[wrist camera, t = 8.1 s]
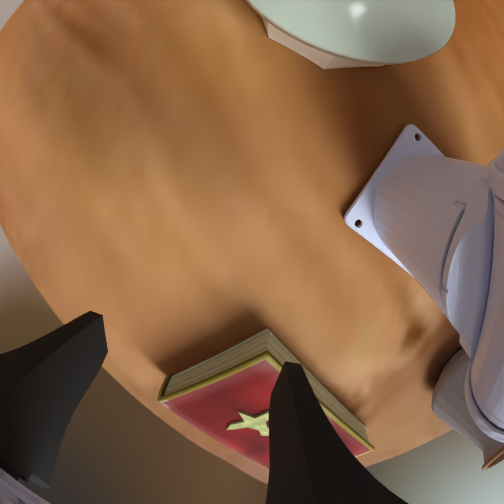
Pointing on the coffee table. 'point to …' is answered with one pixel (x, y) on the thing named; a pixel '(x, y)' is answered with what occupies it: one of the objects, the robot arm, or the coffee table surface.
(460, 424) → the coffee pot
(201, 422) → the hardcover book
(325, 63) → the bowl
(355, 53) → the lid
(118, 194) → the coffee table surface
